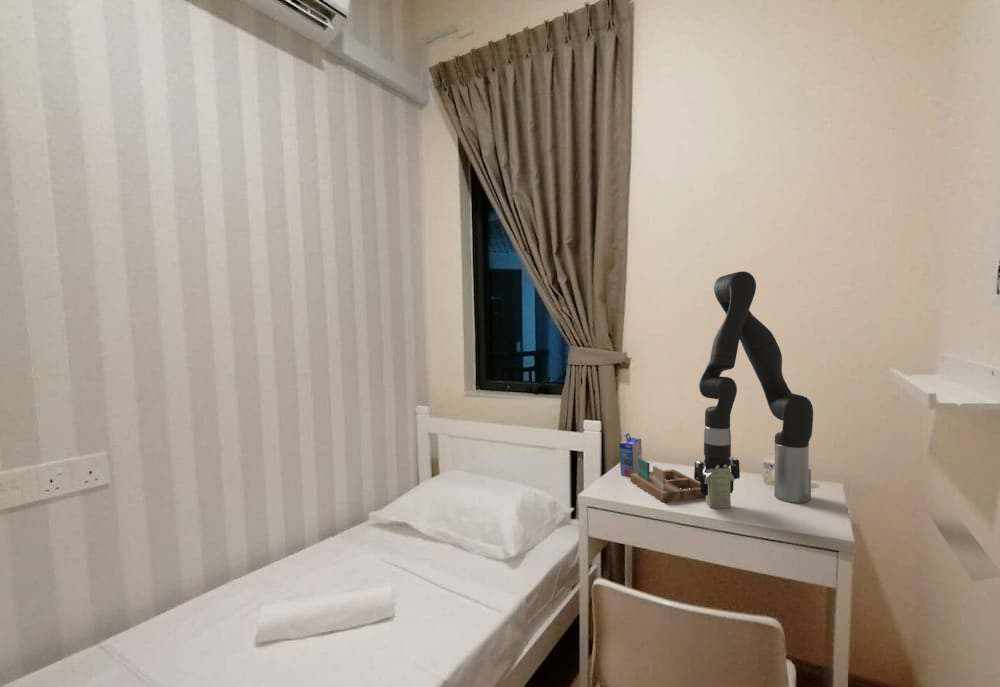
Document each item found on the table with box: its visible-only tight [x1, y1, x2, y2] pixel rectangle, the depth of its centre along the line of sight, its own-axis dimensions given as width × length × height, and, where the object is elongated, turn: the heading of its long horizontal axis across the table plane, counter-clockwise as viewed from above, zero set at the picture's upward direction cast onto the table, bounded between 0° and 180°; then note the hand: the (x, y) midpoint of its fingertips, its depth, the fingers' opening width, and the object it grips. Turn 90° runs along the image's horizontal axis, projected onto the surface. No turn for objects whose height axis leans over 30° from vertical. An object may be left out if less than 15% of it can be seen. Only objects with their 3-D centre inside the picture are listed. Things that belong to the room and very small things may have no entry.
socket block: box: [630, 458, 706, 503], centre depth 164 cm, size 17×20×9 cm
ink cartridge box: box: [619, 433, 643, 477], centre depth 183 cm, size 10×6×14 cm, turn 146°
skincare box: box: [705, 467, 731, 509], centre depth 149 cm, size 6×4×12 cm
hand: (716, 493), depth 149 cm, fingers open, 8 cm apart
